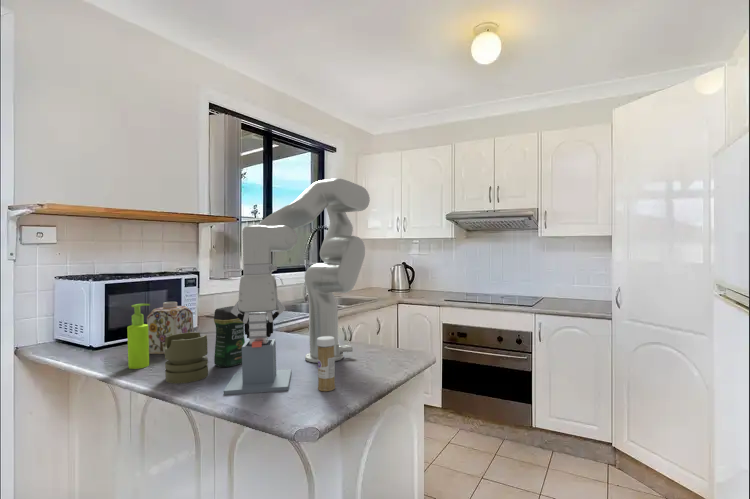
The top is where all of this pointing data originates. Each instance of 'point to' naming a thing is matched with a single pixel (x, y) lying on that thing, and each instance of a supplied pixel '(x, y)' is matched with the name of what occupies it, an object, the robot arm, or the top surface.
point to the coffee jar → (228, 337)
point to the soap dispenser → (138, 340)
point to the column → (258, 327)
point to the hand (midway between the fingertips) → (259, 335)
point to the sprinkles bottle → (326, 363)
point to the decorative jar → (167, 324)
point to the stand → (259, 371)
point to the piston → (186, 357)
